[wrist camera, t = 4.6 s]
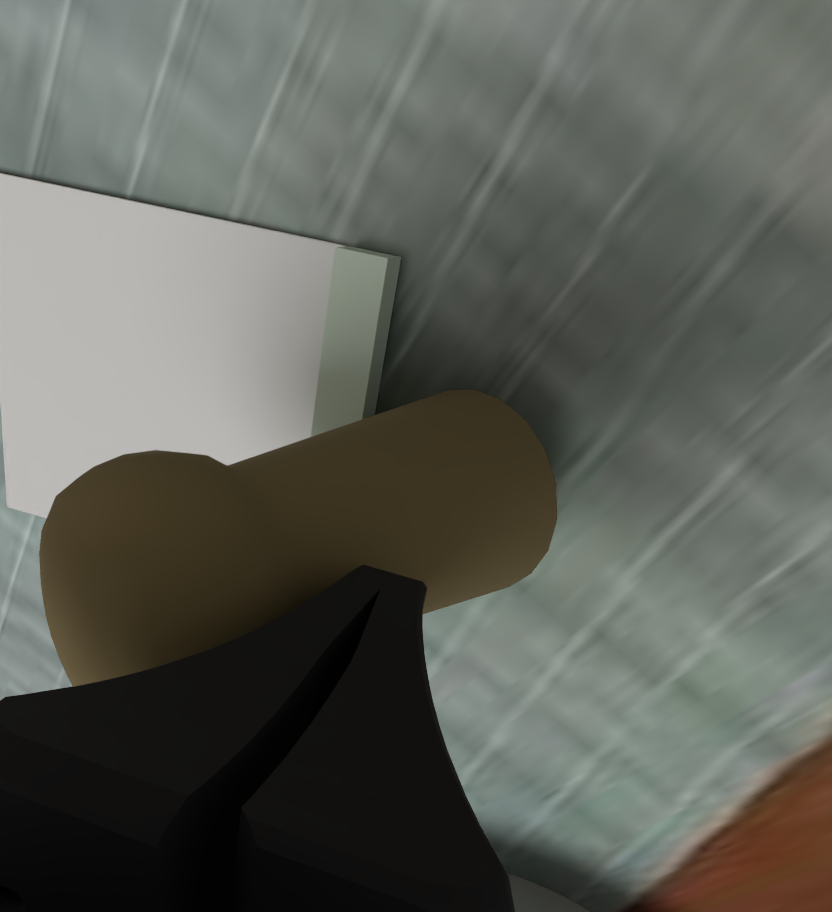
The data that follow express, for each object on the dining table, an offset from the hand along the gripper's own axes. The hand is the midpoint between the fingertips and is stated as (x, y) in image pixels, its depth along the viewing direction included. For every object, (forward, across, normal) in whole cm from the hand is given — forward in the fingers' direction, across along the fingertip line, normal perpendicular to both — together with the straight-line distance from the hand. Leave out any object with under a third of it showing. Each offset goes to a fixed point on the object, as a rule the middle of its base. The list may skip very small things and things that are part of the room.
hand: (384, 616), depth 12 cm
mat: (+8, +10, 0) cm, 13 cm away
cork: (+7, -1, 0) cm, 7 cm away
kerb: (+8, +4, 0) cm, 9 cm away
